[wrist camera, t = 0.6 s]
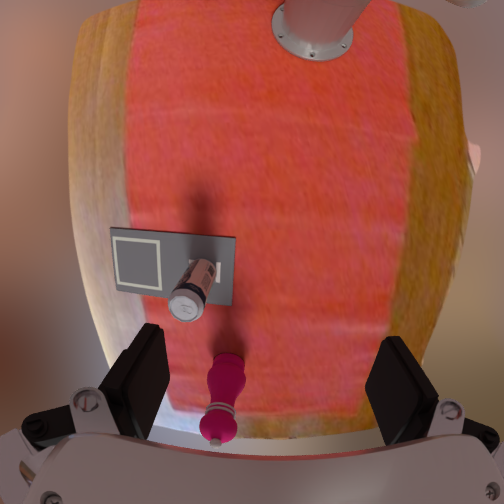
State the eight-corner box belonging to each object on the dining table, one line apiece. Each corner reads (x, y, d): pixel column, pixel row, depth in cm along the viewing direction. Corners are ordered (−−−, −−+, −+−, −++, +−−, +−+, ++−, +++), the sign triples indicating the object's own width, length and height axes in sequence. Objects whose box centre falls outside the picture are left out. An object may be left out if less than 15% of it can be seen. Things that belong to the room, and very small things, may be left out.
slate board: (110, 228, 43) (110, 228, 43) (235, 238, 42) (235, 238, 42) (117, 289, 47) (116, 290, 47) (231, 305, 46) (231, 306, 46)
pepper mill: (204, 365, 52) (183, 446, 33) (222, 344, 50) (203, 431, 31) (235, 380, 53) (224, 461, 34) (254, 361, 51) (248, 447, 32)
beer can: (190, 254, 43) (166, 288, 32) (219, 261, 44) (204, 297, 32) (187, 280, 45) (164, 319, 34) (214, 287, 45) (199, 329, 34)
